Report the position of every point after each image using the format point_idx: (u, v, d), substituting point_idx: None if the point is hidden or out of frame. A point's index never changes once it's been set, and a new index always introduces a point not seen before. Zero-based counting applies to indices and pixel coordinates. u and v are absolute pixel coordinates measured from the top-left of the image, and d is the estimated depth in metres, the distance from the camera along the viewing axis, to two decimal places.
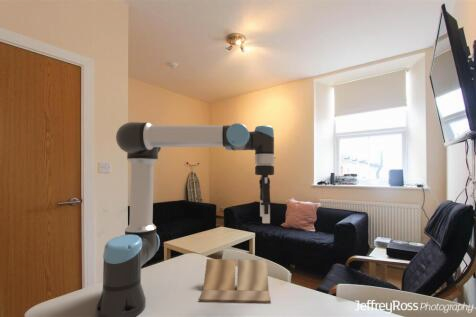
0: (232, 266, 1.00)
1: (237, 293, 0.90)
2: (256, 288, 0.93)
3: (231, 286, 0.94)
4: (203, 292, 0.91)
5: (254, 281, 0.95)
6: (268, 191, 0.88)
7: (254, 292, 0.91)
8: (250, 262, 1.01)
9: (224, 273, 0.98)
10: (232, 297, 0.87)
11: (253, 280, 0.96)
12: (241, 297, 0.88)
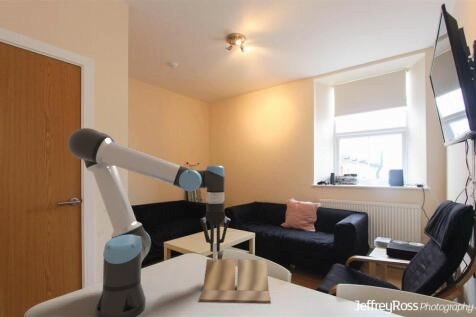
0: (232, 266, 1.00)
1: (237, 293, 0.90)
2: (256, 288, 0.93)
3: (231, 286, 0.94)
4: (203, 292, 0.91)
5: (254, 281, 0.95)
6: None
7: (254, 292, 0.91)
8: (250, 262, 1.01)
9: (224, 273, 0.98)
10: (232, 297, 0.87)
11: (253, 280, 0.96)
12: (241, 297, 0.88)
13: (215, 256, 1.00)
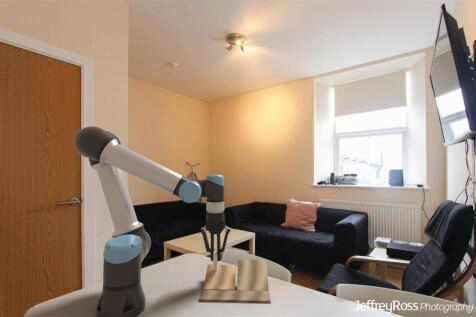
0: (232, 270, 1.02)
1: (237, 293, 0.90)
2: (256, 288, 0.93)
3: (231, 286, 0.94)
4: (203, 292, 0.91)
5: (254, 281, 0.95)
6: None
7: (254, 292, 0.91)
8: (250, 262, 1.01)
9: (224, 275, 0.99)
10: (232, 297, 0.87)
11: (253, 280, 0.96)
12: (241, 297, 0.88)
13: (216, 265, 1.00)
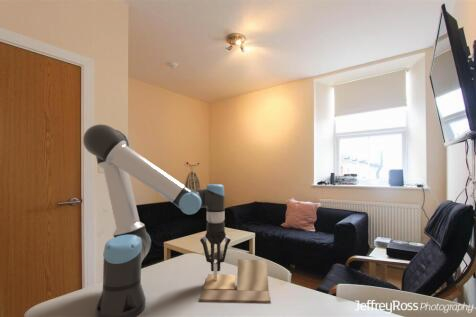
0: (232, 278, 1.02)
1: (237, 293, 0.90)
2: (256, 288, 0.93)
3: (231, 287, 0.95)
4: (203, 292, 0.91)
5: (254, 281, 0.95)
6: None
7: (254, 292, 0.91)
8: (250, 262, 1.01)
9: (224, 280, 1.00)
10: (232, 297, 0.87)
11: (253, 280, 0.96)
12: (241, 297, 0.88)
13: (216, 276, 1.00)
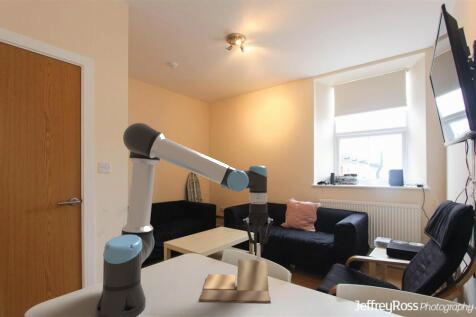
0: (232, 278, 1.02)
1: (237, 293, 0.90)
2: (256, 288, 0.93)
3: (231, 287, 0.95)
4: (203, 292, 0.91)
5: (254, 281, 0.95)
6: (247, 232, 1.01)
7: (254, 292, 0.91)
8: (250, 262, 1.01)
9: (224, 280, 1.00)
10: (232, 297, 0.87)
11: (253, 280, 0.96)
12: (241, 297, 0.88)
13: (259, 257, 1.00)
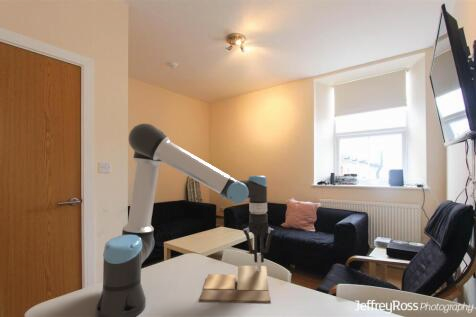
0: (232, 278, 1.02)
1: (237, 293, 0.90)
2: (256, 288, 0.94)
3: (231, 287, 0.95)
4: (203, 292, 0.91)
5: (254, 282, 0.96)
6: None
7: (254, 292, 0.91)
8: (250, 267, 1.03)
9: (224, 280, 1.00)
10: (232, 297, 0.87)
11: (253, 281, 0.96)
12: (241, 297, 0.88)
13: (260, 267, 1.00)
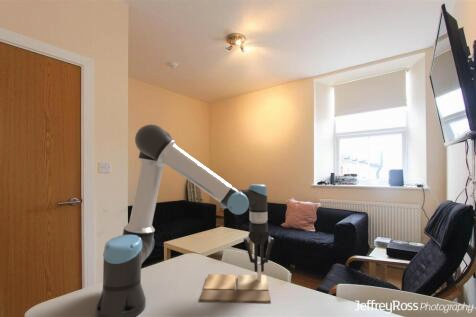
0: (232, 278, 1.02)
1: (237, 293, 0.90)
2: (256, 288, 0.94)
3: (231, 287, 0.95)
4: (203, 292, 0.91)
5: (254, 285, 0.97)
6: None
7: (254, 292, 0.91)
8: (250, 276, 1.04)
9: (224, 280, 1.00)
10: (232, 297, 0.87)
11: (253, 284, 0.97)
12: (241, 297, 0.88)
13: (260, 276, 0.99)
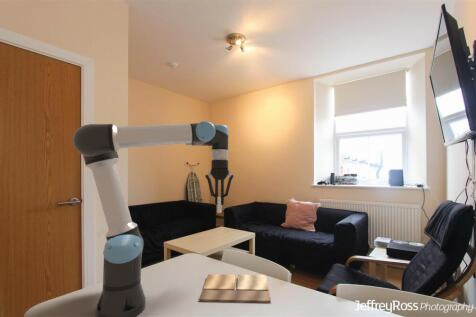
0: (232, 278, 1.02)
1: (237, 293, 0.90)
2: (256, 288, 0.94)
3: (231, 287, 0.95)
4: (203, 292, 0.91)
5: (254, 285, 0.97)
6: None
7: (254, 292, 0.91)
8: (250, 276, 1.04)
9: (224, 280, 1.00)
10: (232, 297, 0.87)
11: (253, 284, 0.97)
12: (241, 297, 0.88)
13: (219, 208, 1.08)
